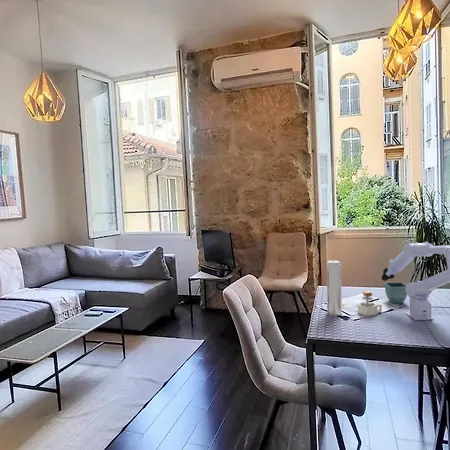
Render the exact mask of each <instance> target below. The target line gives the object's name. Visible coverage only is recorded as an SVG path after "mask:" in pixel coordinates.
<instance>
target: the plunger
mask: <svg viewBox="0 0 450 450" xmlns="http://www.w3.org/2000/svg"><path fill="white" fill-rule="evenodd" d="M362 293H363V294H362V295H363V296H362V297H361V299H362V300H364V301H362V302H363V303H362V305H364V306H372V305H373V303H374V302H372V303H370V301H371V300H373V299H374V297H373V293H372V292H371V291H370V290H366V291H365V290H363V291H362Z"/></svg>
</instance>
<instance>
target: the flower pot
mask: <svg viewBox="0 0 450 450" xmlns="http://www.w3.org/2000/svg"><path fill="white" fill-rule="evenodd" d="M406 285H407V284H405V283H403V282H384V290H385V295H386V297H387V300H388V301H389V302H391V303H392V304H403V303H404V302H405V301H406V298H407V296H408V295H407V293H406V289H405V288H406Z"/></svg>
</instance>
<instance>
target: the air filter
mask: <svg viewBox="0 0 450 450" xmlns="http://www.w3.org/2000/svg"><path fill="white" fill-rule="evenodd" d="M326 303H327V306H326V307H327V308H326V310H327V315H329V316H332V317H333V316H335V317H336V316H341V315H342V312H343V308H342V307H343V306H342V304H343V303H342V264H341V262H340V261H339V260H327V262H326Z"/></svg>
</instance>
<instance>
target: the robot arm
mask: <svg viewBox="0 0 450 450" xmlns="http://www.w3.org/2000/svg"><path fill="white" fill-rule="evenodd" d="M402 247H403V248H402V251H401V252H400V253H399V254H398V255H397V256H396V257H395V258H394V259H389V260H388V263H389V266H388V268H387V267H385V268H383V274H382V275H381V277H380V278H381V280H382V281H383V282H386V281H388V280H390V279H394V278H395V275H394V274H397V273H401V272H402V271H403V270H404V268H405V267H407V266H408V265H409V264H410V263H411V261H413V260H414V258H416V257H432V256H433V255H435V254H437V255H444V256H443V257H444V258H445V259H446V267H447V269H446V270H442V271H441V272H439V273H436V274H434V275H432V276H429V277H428V278H425V279H423V280H420V281H416V282H408V283H406V284H405V285H406V288H405V289H406V293H407V296H408V297H409V312H405V314H406V315H408V316H409V317H410V318H412V319H413V320H414V321H426V320H434V317H432V304H431V302H430V301H429V299H428V298H429V297H430V295H431V294H432V292H433V291H435V289H436V288H439V287H442V286H445V285H448V284H449V283H450V244H449V245H433V243H429V242H428V241H422V243H419V242H414V243H406V244H404V245H403V246H402Z"/></svg>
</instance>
